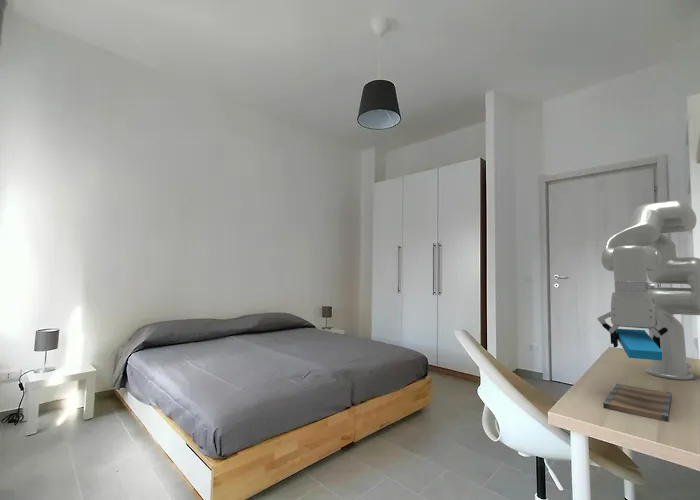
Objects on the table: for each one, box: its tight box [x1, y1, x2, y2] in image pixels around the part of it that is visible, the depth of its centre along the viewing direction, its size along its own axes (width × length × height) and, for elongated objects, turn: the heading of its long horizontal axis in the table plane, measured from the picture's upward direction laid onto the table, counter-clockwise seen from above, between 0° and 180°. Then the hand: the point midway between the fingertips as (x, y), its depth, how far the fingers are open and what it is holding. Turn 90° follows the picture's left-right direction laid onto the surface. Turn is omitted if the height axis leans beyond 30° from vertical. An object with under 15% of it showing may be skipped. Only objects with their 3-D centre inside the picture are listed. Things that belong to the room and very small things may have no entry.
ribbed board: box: [603, 383, 673, 422], centre depth 98 cm, size 24×13×1 cm, turn 136°
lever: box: [616, 328, 662, 361], centre depth 99 cm, size 7×7×18 cm
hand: (635, 348), depth 99 cm, fingers closed on lever, 8 cm apart
